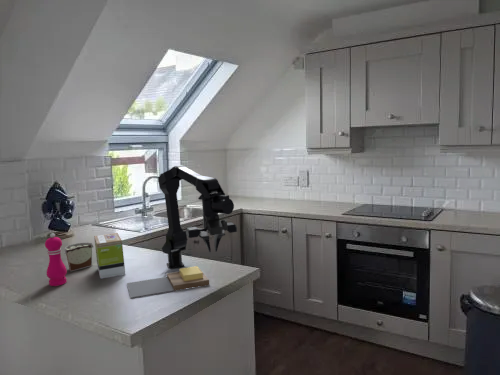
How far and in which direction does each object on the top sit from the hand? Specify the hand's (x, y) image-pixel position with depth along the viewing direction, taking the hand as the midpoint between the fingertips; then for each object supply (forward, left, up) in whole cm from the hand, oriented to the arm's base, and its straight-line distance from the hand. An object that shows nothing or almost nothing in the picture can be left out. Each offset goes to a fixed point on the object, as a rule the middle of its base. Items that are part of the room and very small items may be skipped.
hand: (212, 251), depth 166 cm
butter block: (0, -9, -7) cm, 11 cm away
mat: (0, -24, -10) cm, 26 cm away
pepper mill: (-22, -57, -10) cm, 62 cm away
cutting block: (0, -10, -10) cm, 14 cm away
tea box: (-27, -37, -10) cm, 47 cm away
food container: (-41, -50, -10) cm, 66 cm away
